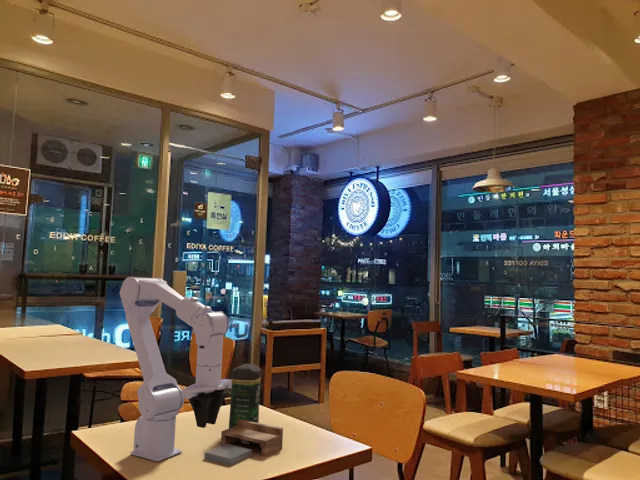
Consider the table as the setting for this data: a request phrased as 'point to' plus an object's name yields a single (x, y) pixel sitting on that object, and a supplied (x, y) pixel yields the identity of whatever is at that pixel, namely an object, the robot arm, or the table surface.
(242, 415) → the coffee jar
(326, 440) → the table surface
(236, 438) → the walnut shelf
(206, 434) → the table surface
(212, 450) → the slate tile
